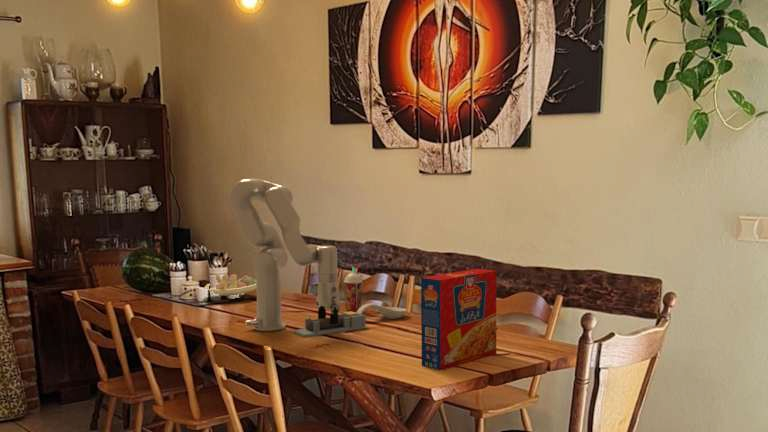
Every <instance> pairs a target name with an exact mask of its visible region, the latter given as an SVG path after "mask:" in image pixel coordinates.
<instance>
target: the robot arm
mask: <svg viewBox="0 0 768 432" xmlns="http://www.w3.org/2000/svg"><path fill="white" fill-rule="evenodd" d="M252 201H260V202H263V203H265V204H266V206H267V207H268V209H269V211H270V212H271V214H272V216H273V218H274V219H275V221H276V223H277V224H278V227H279V229H280V231H281V235H282V239H283V241H282V239H281V237H280V235H279V233H278V230H277V229H276V228H275V226H274V225H272V224H271V223H270V222H265V221H262V219H261V217H260V214H259V212H258V211H257V209H256V207H255V206H254V204H253V203H252ZM292 202H293V192H292V191H291V189H289V188H288V187H286V186H284V185H280V184H276V183H273V182H270V181H267V180H264V179H261V178H260V179H259V178H243V179H241V180H238V181H237V182H236V183H235V184H234V185H233V186H232V188H231V189H230V193H229V205H230V208H231V210H232V213H233V214H234V216H235V219H236V221H237V222H238V223H237V224H238V225H239V227H240V229H241V232H242V233H243V236H244V238H245V240H246V243H247V244H248V245H249V246H250V247H252V248H255V249H256V248H260V251H258V252H257V254H256V255H255V256H254V259H253V267H254V273H255V280H256V289H255V290H256V316H255V317H254V318H253V319H251V320H250V319H249V320H245V321H244V324H245V327H246V326H247V327H248V326H251V327H252V328H253V330H254V331H257V332H275V331H280V330H284V329H285V328H286V324H285V323H283V322H282V321H283V320H282V283H281V282H282V281H281V276H280V271H279V270H281V269H283V268H285V267H286V266H287V263H288V261H289V256H288V253H289V255H290V256H291V258H292V260H293V261H294V262H295V263H296V264H297V265H299V266H301V267H306V266H309V265H313V264H317V296H316V297H315V299H316V305H317V307H316V308H317V319H323V318H327V314H326V313H327V309H329V312H330V313H329V318H330V324H338V314H339V313H340V307H341V303H340V302H341V301H340V299H341V298H340V289H339V287H340V286H339V282H338V248H337V247H336V246H335V245H317V244H312V243H311V244H307V243H306V242H305V240H304V238H303V236H302V234H301V230H300V224H301V218H300V215H299V214H298V213H297V211H296V209H295V207H294V206H293V204H292ZM283 242H284V243H283ZM287 251H288V252H287Z"/></svg>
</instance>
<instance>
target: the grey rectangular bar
mask: <svg viewBox="0 0 768 432" xmlns="http://www.w3.org/2000/svg"><path fill="white" fill-rule="evenodd" d="M342 313H343V316H338V324H330V317H326V318H323V319H318V318H316V319H311V320H309V321H308V322H307V327H308V330H309V331H313V322H315V321H319V324H320V329H327V328H334V327H340V326H343V318H344V317H349V327H350V317H353V316H358V313H355V312H352V311H350V312H347V311H343V312H342Z"/></svg>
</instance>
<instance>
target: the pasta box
mask: <svg viewBox="0 0 768 432" xmlns="http://www.w3.org/2000/svg"><path fill="white" fill-rule="evenodd" d="M420 291H421V293H420V294H421V297H420V301H421V303H420V304H421V305H420V310H421V312H420V314H421V316H420V317H421V318H420V320H421V366H422V367H425V368H429V367H430V369H432V368H434V369H433V370H436V369H438V370H437V371H440V370H442V371H445V370H448V369H451V368H453V367H454V366H455V367H457V366H461V365H464V364H467V363H471V362H473V361H477V360H480V359H484V358H486V357H490V356H493V355H496V354H497V270H491V269H482V268H472V269H467V270H460V271H456V272H447V273H443V274H442V273H441V274H436V275H430V276H429V275H428V276H423V277H420ZM447 368H448V369H447ZM444 369H445V370H444Z"/></svg>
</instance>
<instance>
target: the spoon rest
mask: <svg viewBox="0 0 768 432" xmlns="http://www.w3.org/2000/svg"><path fill="white" fill-rule="evenodd" d="M368 308H373V309H376V310H377V311H378V312H379V313H380V314H381V315H382V316H383V317H384V318H385V319H388V320H397V319H400V318H402V317H404V316H405V315H406V314H407V313H408V309H407V308H402V307H394V306H383V305H378V304H375V303H370V302H369V303H365V304H363V305H361V307H360V308H359V309H358V311H357V312H356V313H359V314H362V315H363V312H364V311H365V310H367V309H368Z"/></svg>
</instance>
